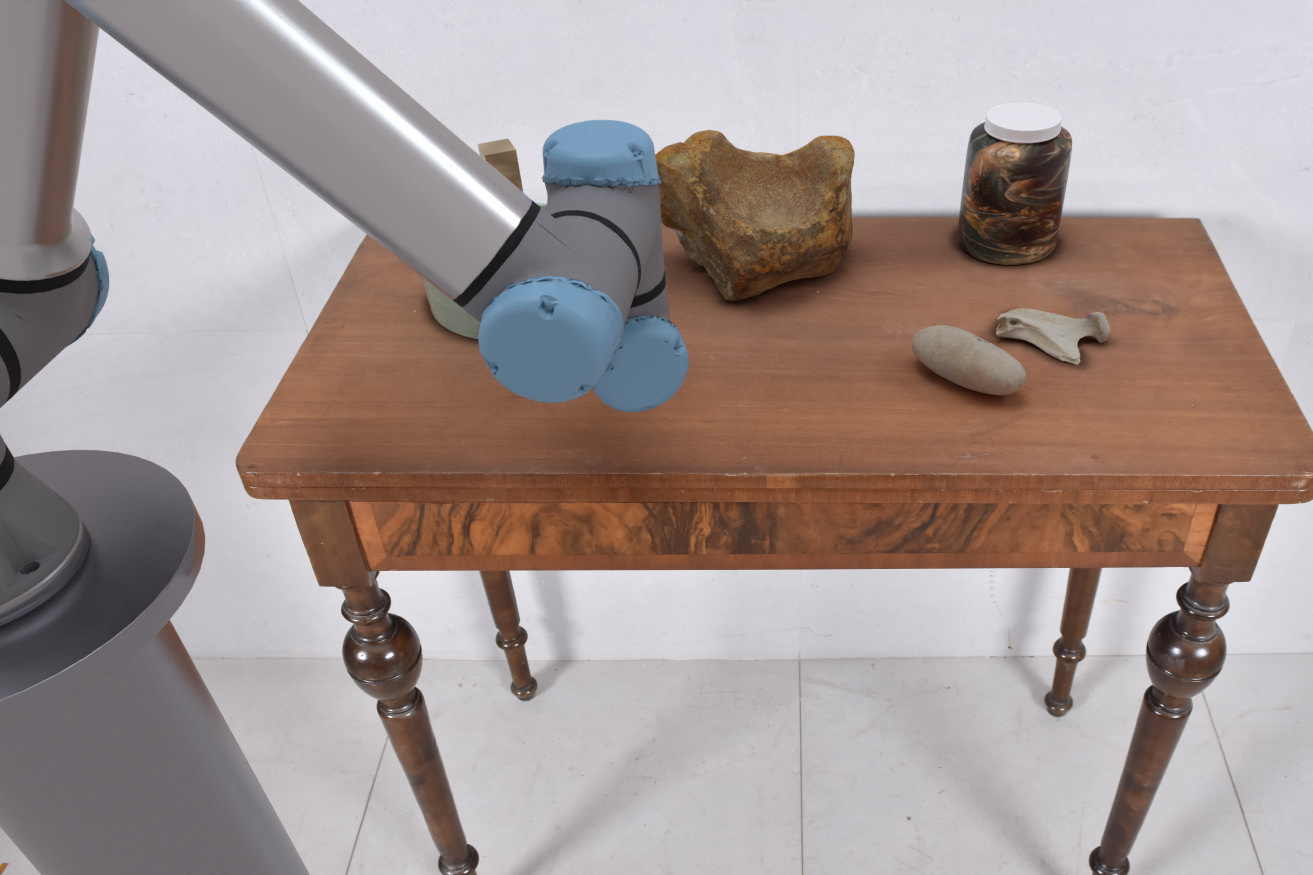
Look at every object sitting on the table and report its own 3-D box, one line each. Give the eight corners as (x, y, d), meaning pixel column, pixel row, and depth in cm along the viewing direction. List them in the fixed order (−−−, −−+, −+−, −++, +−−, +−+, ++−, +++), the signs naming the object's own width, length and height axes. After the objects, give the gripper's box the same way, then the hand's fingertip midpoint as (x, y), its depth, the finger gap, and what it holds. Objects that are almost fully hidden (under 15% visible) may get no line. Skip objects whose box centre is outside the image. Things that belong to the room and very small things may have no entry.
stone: (928, 321, 108) (1040, 325, 101) (928, 384, 110) (1038, 391, 103) (898, 328, 104) (1013, 332, 97) (899, 392, 106) (1011, 401, 98)
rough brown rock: (653, 326, 115) (646, 200, 105) (650, 242, 127) (644, 121, 116) (867, 319, 117) (881, 195, 106) (845, 237, 129) (856, 118, 118)
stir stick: (511, 297, 117) (484, 155, 107) (504, 284, 120) (477, 144, 109) (540, 290, 118) (516, 149, 108) (532, 277, 121) (508, 138, 110)
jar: (947, 221, 131) (960, 98, 121) (1042, 217, 131) (1062, 94, 122) (967, 268, 122) (982, 139, 112) (1068, 263, 122) (1092, 134, 113)
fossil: (1090, 370, 106) (1097, 340, 104) (987, 341, 110) (991, 312, 108) (1111, 338, 110) (1118, 308, 108) (1011, 311, 115) (1016, 282, 113)
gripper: (438, 355, 86) (394, 243, 100) (726, 289, 93) (645, 193, 108) (417, 270, 81) (374, 165, 96) (723, 208, 88) (639, 120, 103)
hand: (518, 180), depth 102 cm, fingers open, 13 cm apart
